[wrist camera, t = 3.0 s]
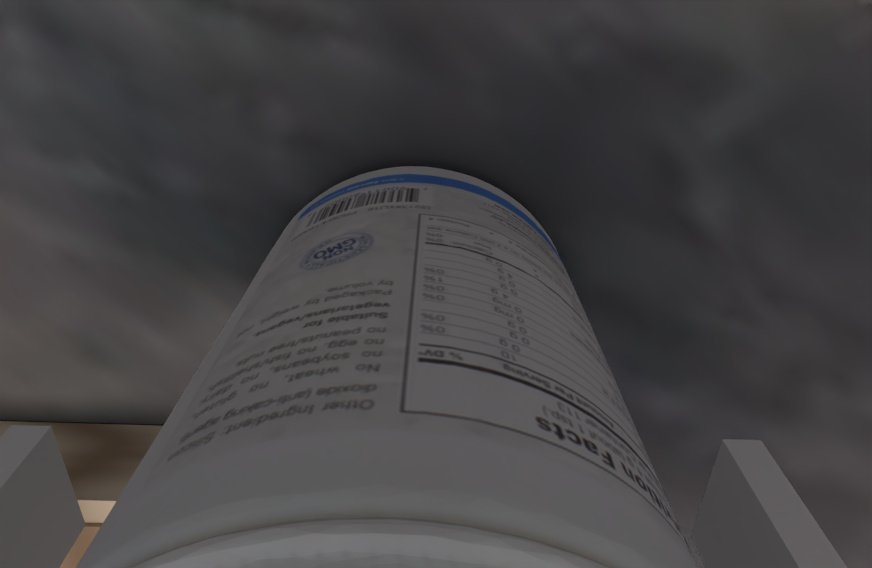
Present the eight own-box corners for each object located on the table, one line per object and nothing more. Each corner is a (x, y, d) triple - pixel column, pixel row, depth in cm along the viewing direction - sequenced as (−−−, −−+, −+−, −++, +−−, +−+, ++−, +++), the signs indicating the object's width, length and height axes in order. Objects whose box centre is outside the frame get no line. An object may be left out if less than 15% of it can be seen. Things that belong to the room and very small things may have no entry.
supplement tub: (455, 456, 23) (473, 1121, 10) (219, 337, 20) (-179, 1002, 7) (631, 259, 19) (1051, 917, 6) (365, 84, 17) (77, 534, 3)
